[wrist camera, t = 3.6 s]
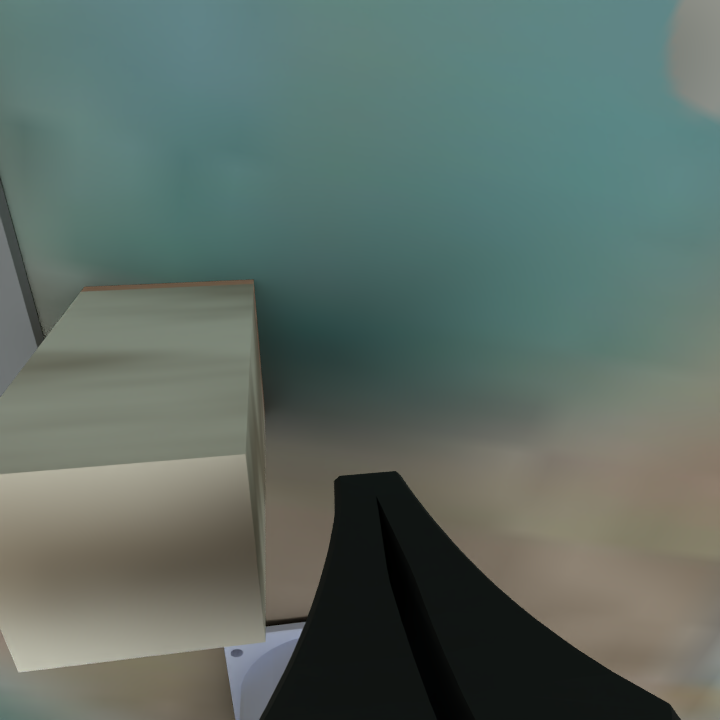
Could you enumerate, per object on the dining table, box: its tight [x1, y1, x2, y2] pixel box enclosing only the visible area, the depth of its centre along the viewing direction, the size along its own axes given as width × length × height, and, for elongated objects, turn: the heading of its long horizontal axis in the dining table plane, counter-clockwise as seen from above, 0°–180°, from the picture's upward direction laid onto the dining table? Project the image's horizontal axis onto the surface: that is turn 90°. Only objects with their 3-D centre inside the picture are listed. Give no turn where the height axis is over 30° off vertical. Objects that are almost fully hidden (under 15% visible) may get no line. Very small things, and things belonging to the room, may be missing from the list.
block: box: [0, 279, 266, 672], centre depth 15 cm, size 5×5×9 cm
